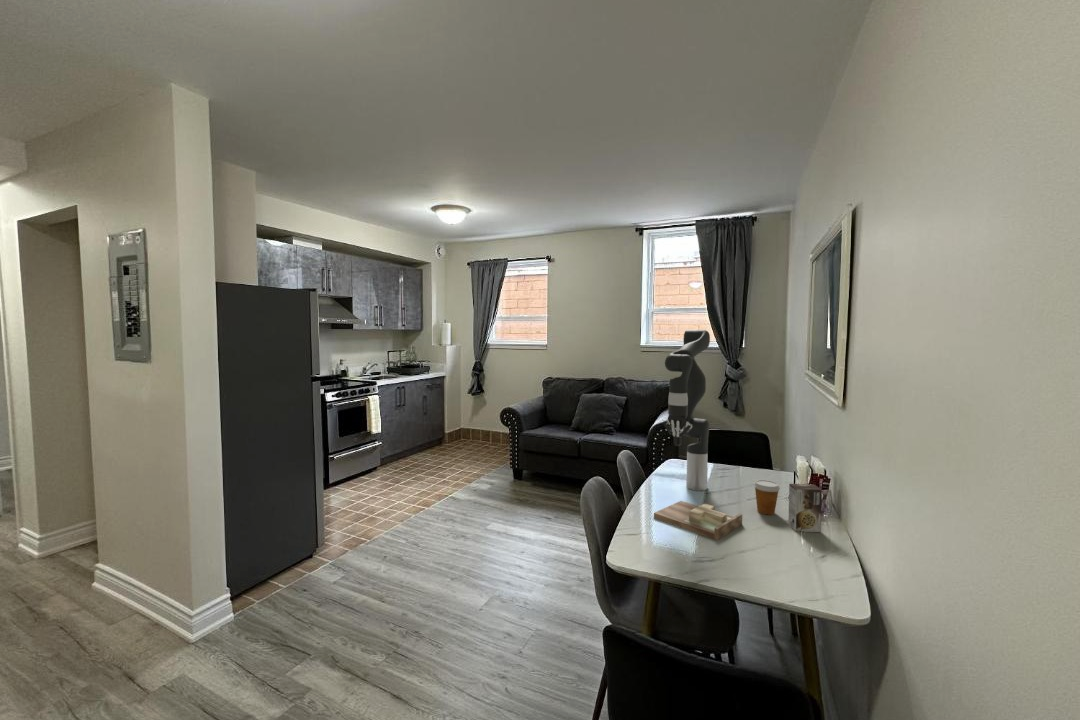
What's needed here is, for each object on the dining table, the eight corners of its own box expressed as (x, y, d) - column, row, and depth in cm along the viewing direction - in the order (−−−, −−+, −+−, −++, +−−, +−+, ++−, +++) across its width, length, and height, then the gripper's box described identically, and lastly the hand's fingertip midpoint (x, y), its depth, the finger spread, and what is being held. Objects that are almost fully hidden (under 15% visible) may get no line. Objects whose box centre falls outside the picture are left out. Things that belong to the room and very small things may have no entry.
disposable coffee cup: (767, 517, 177) (768, 488, 176) (747, 509, 186) (748, 481, 185) (784, 514, 181) (785, 485, 180) (764, 506, 189) (765, 478, 189)
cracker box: (812, 525, 170) (813, 483, 169) (821, 532, 164) (822, 489, 163) (787, 524, 171) (788, 482, 170) (795, 531, 165) (796, 488, 164)
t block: (704, 512, 178) (704, 503, 177) (732, 520, 169) (732, 511, 169) (688, 520, 170) (689, 511, 169) (716, 529, 161) (717, 519, 161)
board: (680, 505, 190) (680, 496, 190) (742, 524, 171) (742, 514, 170) (653, 517, 177) (653, 507, 176) (717, 540, 157) (717, 528, 157)
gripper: (697, 404, 179) (697, 446, 180) (668, 400, 189) (668, 441, 190) (688, 406, 174) (687, 450, 175) (658, 402, 184) (658, 444, 185)
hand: (677, 445), depth 182 cm, fingers closed
